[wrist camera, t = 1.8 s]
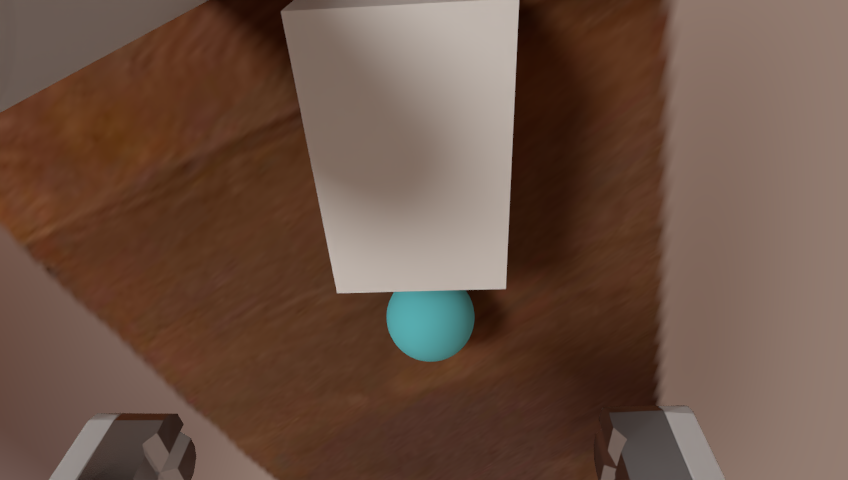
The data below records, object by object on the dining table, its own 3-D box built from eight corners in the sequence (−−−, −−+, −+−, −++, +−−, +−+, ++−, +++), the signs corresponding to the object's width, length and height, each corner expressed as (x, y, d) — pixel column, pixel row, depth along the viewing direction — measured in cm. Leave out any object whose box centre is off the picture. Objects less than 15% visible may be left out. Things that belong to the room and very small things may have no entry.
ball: (386, 256, 30) (377, 315, 26) (472, 253, 30) (477, 313, 26) (393, 318, 33) (387, 381, 29) (472, 316, 33) (476, 379, 29)
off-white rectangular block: (327, -29, 22) (280, 11, 15) (495, -39, 21) (519, -2, 15) (360, 197, 28) (337, 293, 22) (490, 193, 28) (505, 289, 21)
